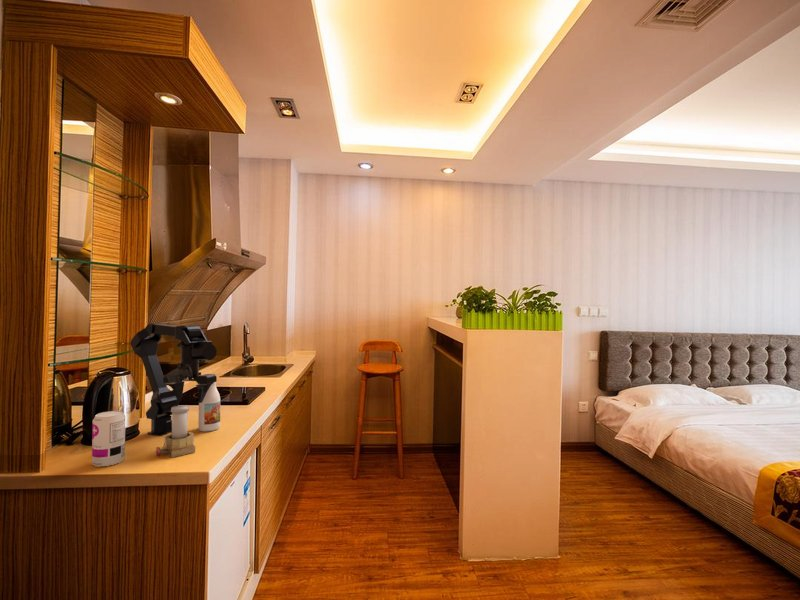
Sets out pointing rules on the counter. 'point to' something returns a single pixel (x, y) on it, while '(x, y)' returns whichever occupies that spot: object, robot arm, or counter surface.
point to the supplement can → (108, 438)
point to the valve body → (177, 445)
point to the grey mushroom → (179, 421)
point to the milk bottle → (210, 410)
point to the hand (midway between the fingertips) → (190, 402)
